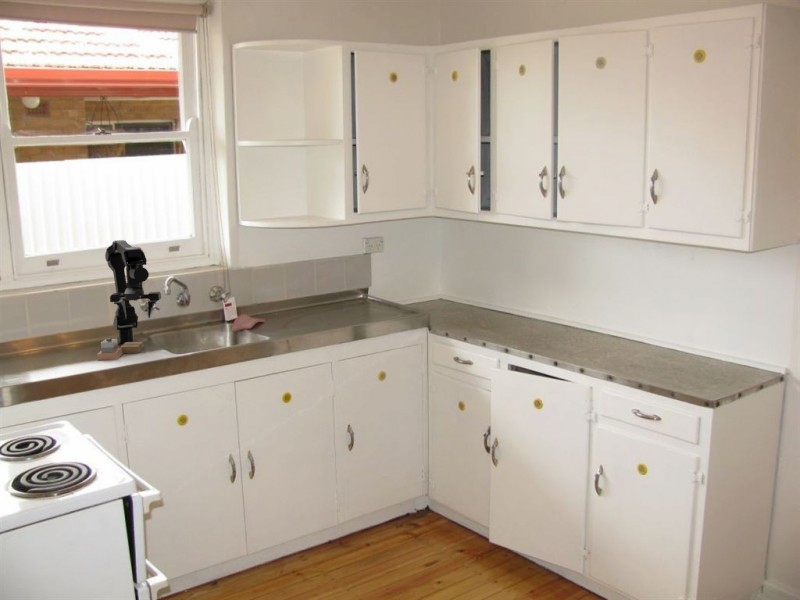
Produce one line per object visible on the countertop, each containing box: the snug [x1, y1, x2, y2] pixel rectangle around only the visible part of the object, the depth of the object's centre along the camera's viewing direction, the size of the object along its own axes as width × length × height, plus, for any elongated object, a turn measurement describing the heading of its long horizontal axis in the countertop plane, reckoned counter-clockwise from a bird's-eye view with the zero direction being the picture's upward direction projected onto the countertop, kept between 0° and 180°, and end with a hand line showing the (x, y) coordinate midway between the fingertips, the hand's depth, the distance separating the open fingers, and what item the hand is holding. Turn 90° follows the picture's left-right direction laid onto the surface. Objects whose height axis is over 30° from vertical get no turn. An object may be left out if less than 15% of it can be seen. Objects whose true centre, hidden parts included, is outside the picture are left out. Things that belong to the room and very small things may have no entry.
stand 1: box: [97, 347, 123, 361], centre depth 324 cm, size 9×7×2 cm
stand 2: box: [119, 341, 145, 354], centre depth 335 cm, size 9×7×2 cm
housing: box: [100, 337, 119, 353], centre depth 324 cm, size 7×4×5 cm, turn 5°
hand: (137, 318), depth 333 cm, fingers open, 9 cm apart
